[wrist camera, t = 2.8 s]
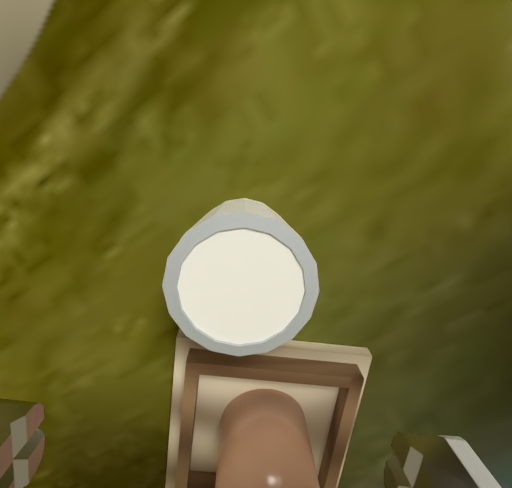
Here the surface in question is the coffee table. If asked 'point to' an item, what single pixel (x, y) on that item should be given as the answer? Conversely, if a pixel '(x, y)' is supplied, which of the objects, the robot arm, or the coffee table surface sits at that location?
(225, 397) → the divided wooden tray
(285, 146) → the coffee table surface
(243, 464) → the tan rounded cylinder
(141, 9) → the coffee table surface
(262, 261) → the white cylinder
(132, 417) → the coffee table surface
